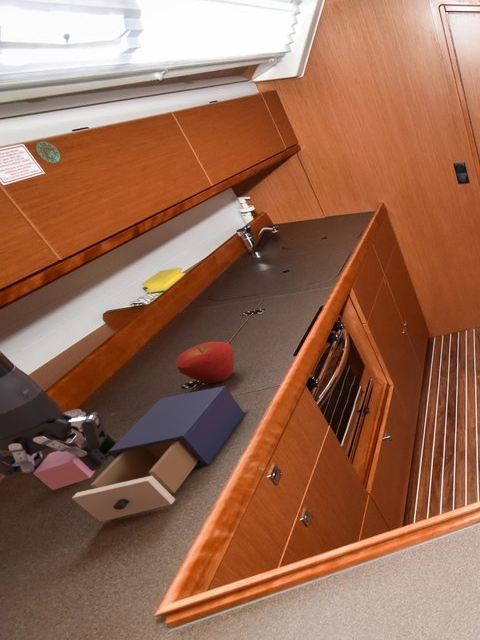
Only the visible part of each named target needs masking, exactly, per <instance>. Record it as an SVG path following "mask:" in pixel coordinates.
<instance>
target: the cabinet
mask: <svg viewBox="0 0 480 640" xmlns="http://www.w3.org/2000/svg"><path fill="white" fill-rule="evenodd" d="M244 416H245V412H244V411H243V409H242V408H241V406H240V405H239V403H238V402H237V401H236V400H235V398H234V397H233V395H232V394H231V393H230V391H229V390H228V389H227V387H226V386H225V385H223V386H217V387H213V388H207V389H202V390H197V391H191V392H186V393H181V394H176V395H171V396H165V397H161V398H160V399H159V400H158V401H157V402H156V403H155V404H154V405H153V406H152V407H151V408H150V409H149V410H148V411H147V412H146V413H145V414H144V415H142V417H141V418H140V419H139V420H138V421H137V422H136V423H135V424H134V425H132V427H130V429H129V430H128V431H127V432H126V433H125V434H123V436H122V437H121V438H120V439H119V440H118V441H117V442H116V444H115V445H114V446H113V447H112V448H111V449H110V450H109V451H108V452H109V453H110V454H109V455H111V456H112V457H113V459H114V460H115V459H116V458H117V457H118V456H119V455H120V453H121V452H124V451H128V450H133V449H138V448H143V447H147V446H152V445H157V444H161V443H166V442H171V441H176V440H180V439H181V441H182V442H183V443H184V444H185V445H186V446H187V448H188V449H189V450H190V451H191V452H192V453H193V454H194V456H195V457H196V458H197V459H198V460H199V461H198V463H197V464H196V465H195V467H194V468H193V469H197V468H199V467H200V468H201V467H204V466H208V465H209V464H210V463H211V461H212V460H213V459H214V457H215V456H216V454H217V453H218V452H219V450H220V449H221V447H222V446H223V445H224V443H225V442H226V440H227V439H228V438H229V436H230V435H231V433H232V432H233V431H234V429H235V428H236V426H237V425H238V424H239V423H240V421H241V420H242V418H243V417H244Z"/></svg>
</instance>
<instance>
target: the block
mask: <svg viewBox="0 0 480 640" xmlns="http://www.w3.org/2000/svg"><path fill="white" fill-rule="evenodd" d="M78 446H79V445H78ZM80 447H81V446H80ZM96 471H97V470H94V471H92V470H90V469H89V468H88V467H87V466H86V465H85V464H84V463H83V462H82V461H81V460H80V459H79V457H78V456H76V455H74V454H71V453H69V452H67V451H65V452H60V451H58V450H55V451H52V452H49V453H48V454H47V456H46V457H45V458H44V459H43V462H42V463H41V464H40V466H39V467H38V468H37V469H36V470H35V472H34V473H33V474H34V475H35V476H36V477H38V478H39V479H40V480H41V481H42V482H41V483H43V482H44V483H43V484H45V485H46V486H47V487H48V488H49V489H50V490H52V491H54V490H59V489H61V488H63V487H67V486H70V485H73V484H76V483H79V482H82V481H86V480H88V479H91V478H92V476H93V475H94V474H95V472H96Z"/></svg>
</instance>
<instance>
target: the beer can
mask: <svg viewBox="0 0 480 640" xmlns="http://www.w3.org/2000/svg"><path fill="white" fill-rule="evenodd" d="M63 413H64V414H66V415H69V416H71V417H73V418H79V417H88V416H89V414H88V413H86V411H82V409H79V408H76V409H72V410H68V411H65V412H63ZM72 429H74V430H76V431H78V432H80V431H79V429H78V428H77V427H75V426H72ZM80 433H82V434H83V437H85V435H84V432H83V431H82V432H80ZM106 435H107V437H106V439H105V440H104V441H103V443H102V444H101V446H100V447H99V448H98V450H99V451H100V452H101V453H102V454H103V455H104V456H105V457H107V456H109V455H111V454H110V453H109V452H108V451H109V450H110V449H111V448H112V447H113V446H114V445H115V444H116V443H117V442H116V441H115V440H114V439H113V438H112V437H111V436H110V435H109V434H108V433H107V432H106ZM66 441H67V439H66V440H65V441H64V442H66ZM76 445H77V444H76Z"/></svg>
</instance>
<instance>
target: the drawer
mask: <svg viewBox="0 0 480 640" xmlns="http://www.w3.org/2000/svg"><path fill="white" fill-rule="evenodd" d="M198 461H199V460H198V459H197V458H196V457H195V456H194V454H193V453H192V452H191V451H190V450H189V449H188V448H187V446H186V445H185V444H184V443H183V442H182V441H181V439H180V440H176V441H171V442H166V443H161V444H157V445H152V446H147V447H143V448H138V449H133V450H128V451H124V452H121V453H120V455H119V456H118V457H117V458H116V459H115V458H114V460H113V461H112V462H111V463H110V464H109V465H108V466H107V467H106V468H105V469H104V470H103V471H102V472H101V473H100V474H99V475H98V476H97V477H96V478H95V479H94V481H93V482H91V484H89V486H90V487H91V488H92V489H87V490H82V491H78V492H76V493H75V494H74V495H73V496H72V497H71V499H72V500H73V501H74V502H76V503H77V504H78V505H79V506H80V507H81V508H83V509H84V510H85V511H86V512H87V513H89V514H90V515H91V516H92V517H93V518H95V519H96V520H97V521H99V522H100V523H101V522H105V521H110V520H113V519H118V518H122V517H126V516H130V515H134V514H138V513H143V512H147V511H151V510H155V509H159V508H163V507H167V506H172V505H173V503H174V502H175V501H176V498H175V497H174V496H173V495H174V494H175V493H176V492H177V491H178V489H179V488H180V487H181V485H182V484H183V483H184V481H185V480H186V479H187V477H188V476H189V474H191V472H192V471H193V469H195V468H194V467H195V465H196V464H197V463H198Z"/></svg>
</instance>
